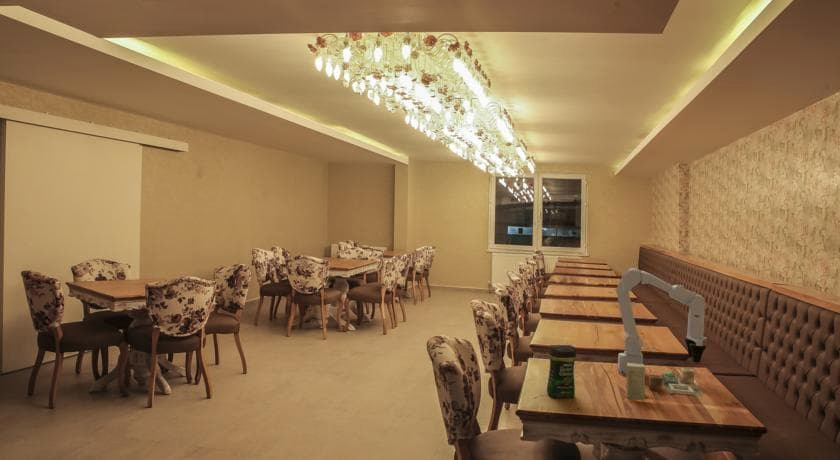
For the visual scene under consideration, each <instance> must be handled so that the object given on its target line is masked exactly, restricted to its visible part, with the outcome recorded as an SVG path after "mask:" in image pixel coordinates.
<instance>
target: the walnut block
mask: <svg viewBox="0 0 840 460" xmlns="http://www.w3.org/2000/svg"><path fill="white" fill-rule="evenodd" d="M648 389H649V391H655V392H662V391H663V382H662V374H661V375H659V374H651V373H650V374H648Z"/></svg>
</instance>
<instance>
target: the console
mask: <svg viewBox="0 0 840 460" xmlns="http://www.w3.org/2000/svg"><path fill="white" fill-rule="evenodd" d="M666 373H667V372H666ZM666 373H665V372H663V373H661V377H662V385H663V386H664V385H668V383H670V384H678V379H679V377H678V376H677V374H675V373H674V377H666Z"/></svg>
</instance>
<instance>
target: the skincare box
mask: <svg viewBox="0 0 840 460" xmlns="http://www.w3.org/2000/svg"><path fill="white" fill-rule="evenodd" d="M645 387H646V366H645V363H642V364H635V363H627V374H626V388H625V389H626V393H625V394H626V395H625V396H626V399H627V400H636V401H637V400H638V401H645V398H646V396H645V395H646V393H645V392H646V390H645V389H646V388H645Z"/></svg>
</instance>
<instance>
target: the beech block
mask: <svg viewBox="0 0 840 460" xmlns="http://www.w3.org/2000/svg"><path fill="white" fill-rule="evenodd" d="M679 379H680V383H681V384H690V385H694V380H695V370H694V369H692V368H686V367H680V378H679Z"/></svg>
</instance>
